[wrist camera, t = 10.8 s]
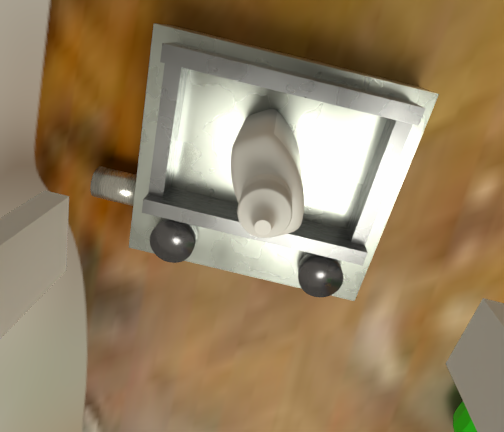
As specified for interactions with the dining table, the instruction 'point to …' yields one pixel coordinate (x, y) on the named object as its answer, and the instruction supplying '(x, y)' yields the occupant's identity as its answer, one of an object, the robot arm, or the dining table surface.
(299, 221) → the eye dropper bottle
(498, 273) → the dining table surface
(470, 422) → the plastic bottle
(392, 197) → the grey rectangular open box
